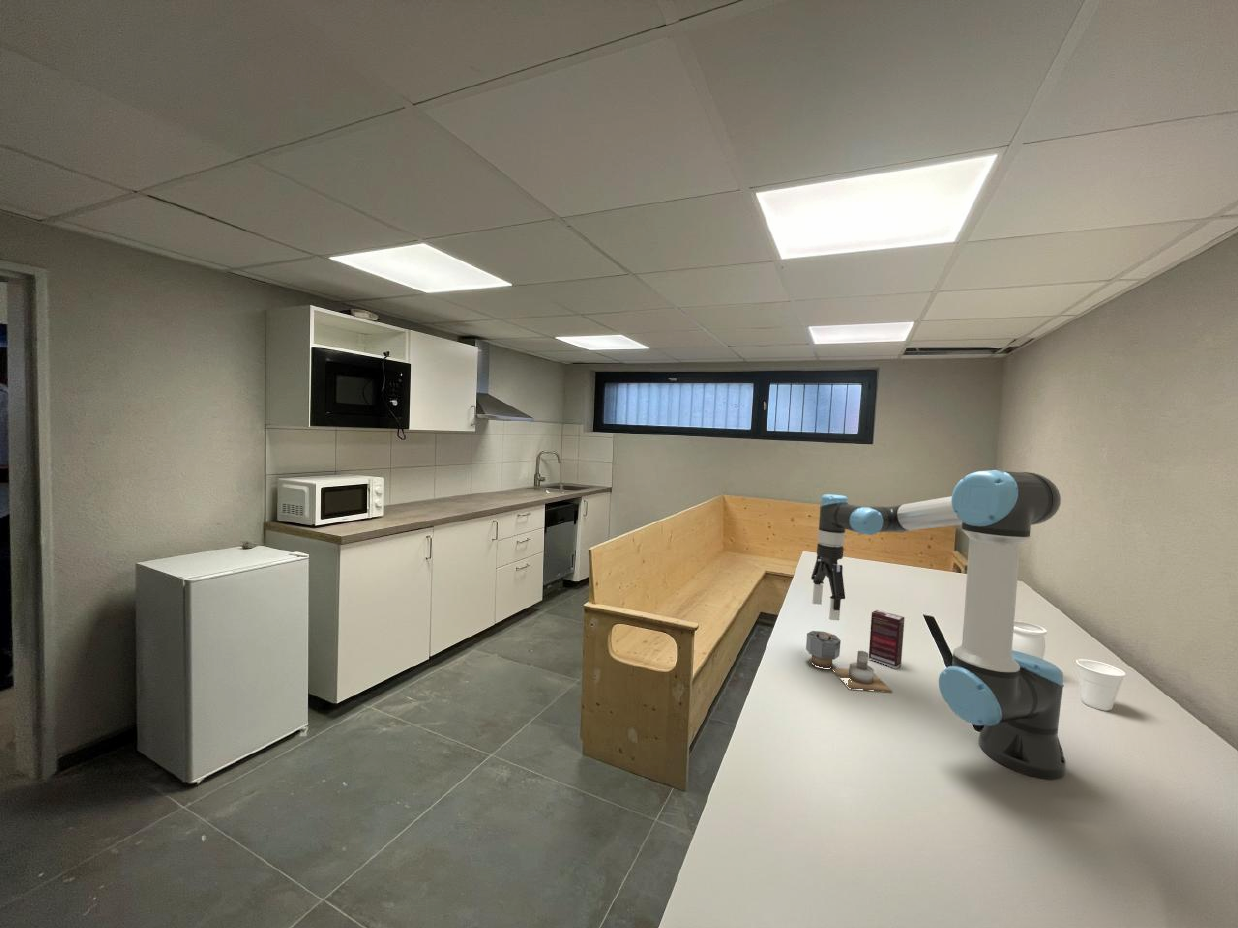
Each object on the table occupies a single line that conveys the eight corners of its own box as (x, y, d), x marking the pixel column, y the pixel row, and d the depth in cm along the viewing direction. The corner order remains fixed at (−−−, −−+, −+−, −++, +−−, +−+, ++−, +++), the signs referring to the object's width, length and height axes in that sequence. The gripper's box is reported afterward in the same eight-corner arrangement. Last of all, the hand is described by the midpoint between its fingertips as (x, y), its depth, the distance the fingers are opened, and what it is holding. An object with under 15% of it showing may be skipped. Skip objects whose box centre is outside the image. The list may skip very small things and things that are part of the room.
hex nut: (843, 659, 147) (844, 643, 147) (813, 657, 147) (814, 641, 147) (831, 647, 156) (832, 632, 156) (802, 645, 156) (804, 630, 156)
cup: (1132, 717, 130) (1136, 677, 129) (1088, 711, 132) (1092, 672, 131) (1103, 699, 139) (1107, 661, 139) (1063, 693, 141) (1067, 656, 141)
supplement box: (901, 665, 154) (905, 616, 154) (896, 669, 151) (900, 620, 150) (872, 655, 161) (876, 608, 160) (867, 659, 158) (871, 611, 157)
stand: (835, 670, 149) (837, 638, 148) (815, 668, 149) (817, 636, 148) (827, 661, 155) (829, 630, 154) (808, 660, 155) (810, 629, 154)
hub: (892, 692, 136) (894, 663, 136) (849, 689, 137) (851, 660, 136) (871, 672, 148) (873, 645, 148) (831, 669, 149) (833, 642, 148)
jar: (1026, 666, 159) (1030, 621, 159) (1051, 681, 149) (1055, 633, 148) (991, 662, 160) (996, 618, 160) (1014, 677, 150) (1018, 630, 149)
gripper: (861, 554, 137) (855, 627, 139) (826, 536, 162) (821, 598, 163) (834, 553, 138) (828, 625, 139) (804, 535, 162) (799, 597, 164)
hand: (825, 611), depth 151 cm, fingers open, 13 cm apart
